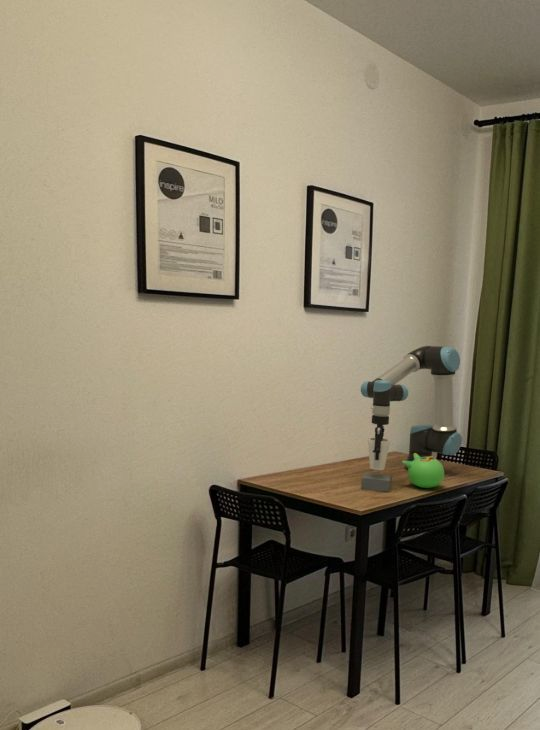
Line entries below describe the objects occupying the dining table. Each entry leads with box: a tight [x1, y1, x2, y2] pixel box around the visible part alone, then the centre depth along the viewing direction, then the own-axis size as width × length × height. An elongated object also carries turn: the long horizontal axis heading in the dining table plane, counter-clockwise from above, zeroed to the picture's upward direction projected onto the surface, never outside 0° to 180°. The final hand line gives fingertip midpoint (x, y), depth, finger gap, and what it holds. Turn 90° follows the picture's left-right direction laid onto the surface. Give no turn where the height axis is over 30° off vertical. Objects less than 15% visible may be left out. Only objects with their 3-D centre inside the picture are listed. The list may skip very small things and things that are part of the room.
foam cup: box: [367, 437, 391, 471], centre depth 278 cm, size 10×9×13 cm
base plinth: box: [360, 472, 392, 493], centre depth 279 cm, size 12×12×5 cm
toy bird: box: [401, 453, 445, 489], centre depth 284 cm, size 18×17×15 cm
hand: (377, 465), depth 278 cm, fingers closed on foam cup, 9 cm apart
